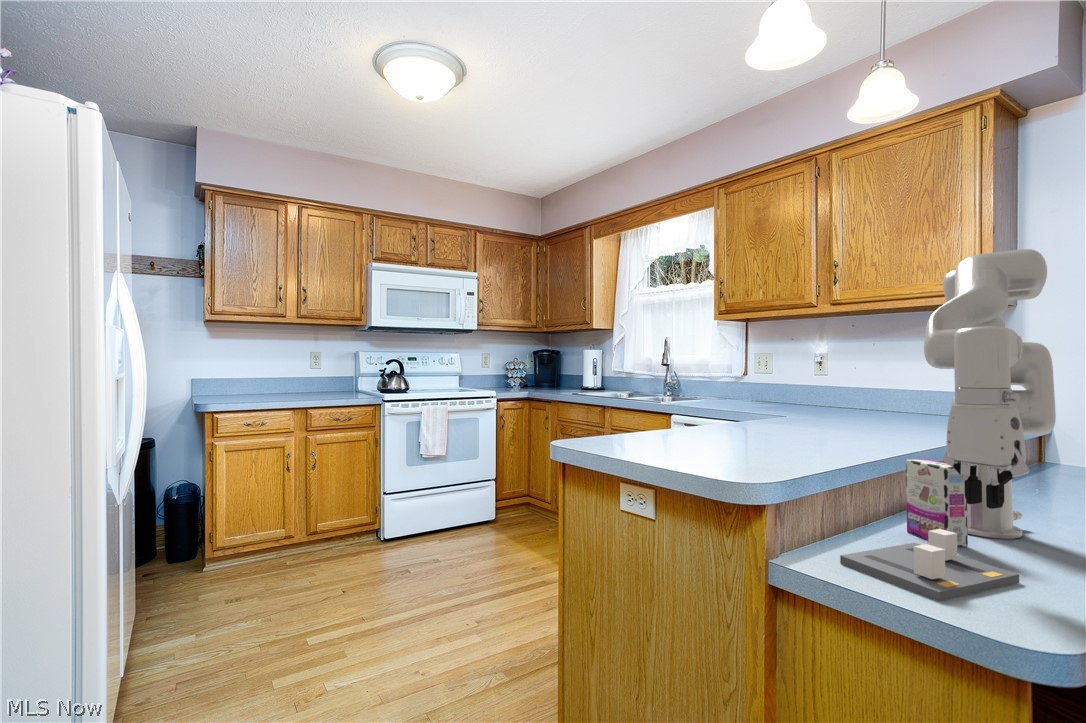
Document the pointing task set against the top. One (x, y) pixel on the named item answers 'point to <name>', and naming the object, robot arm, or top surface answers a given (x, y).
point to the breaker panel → (900, 571)
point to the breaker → (929, 561)
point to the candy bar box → (935, 499)
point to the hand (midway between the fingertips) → (984, 504)
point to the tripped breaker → (944, 542)
